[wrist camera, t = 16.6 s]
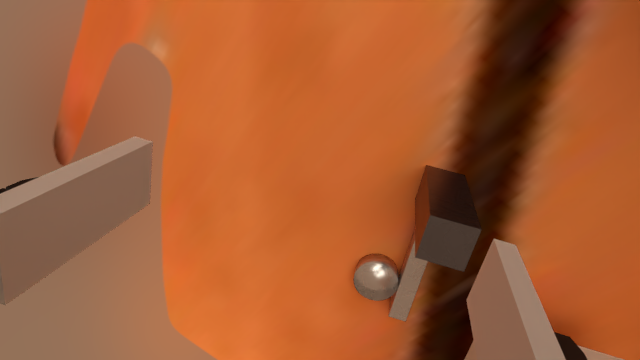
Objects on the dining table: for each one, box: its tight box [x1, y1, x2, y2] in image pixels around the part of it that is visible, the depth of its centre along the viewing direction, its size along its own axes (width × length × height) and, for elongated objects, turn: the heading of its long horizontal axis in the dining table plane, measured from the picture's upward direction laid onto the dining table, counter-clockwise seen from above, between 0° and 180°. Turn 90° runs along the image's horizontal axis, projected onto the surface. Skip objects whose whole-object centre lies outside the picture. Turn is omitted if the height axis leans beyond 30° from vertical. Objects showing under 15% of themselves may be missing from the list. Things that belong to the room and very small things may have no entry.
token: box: [354, 254, 399, 301], centre depth 48 cm, size 5×5×2 cm
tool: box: [389, 165, 482, 321], centre depth 41 cm, size 18×4×12 cm, turn 168°
